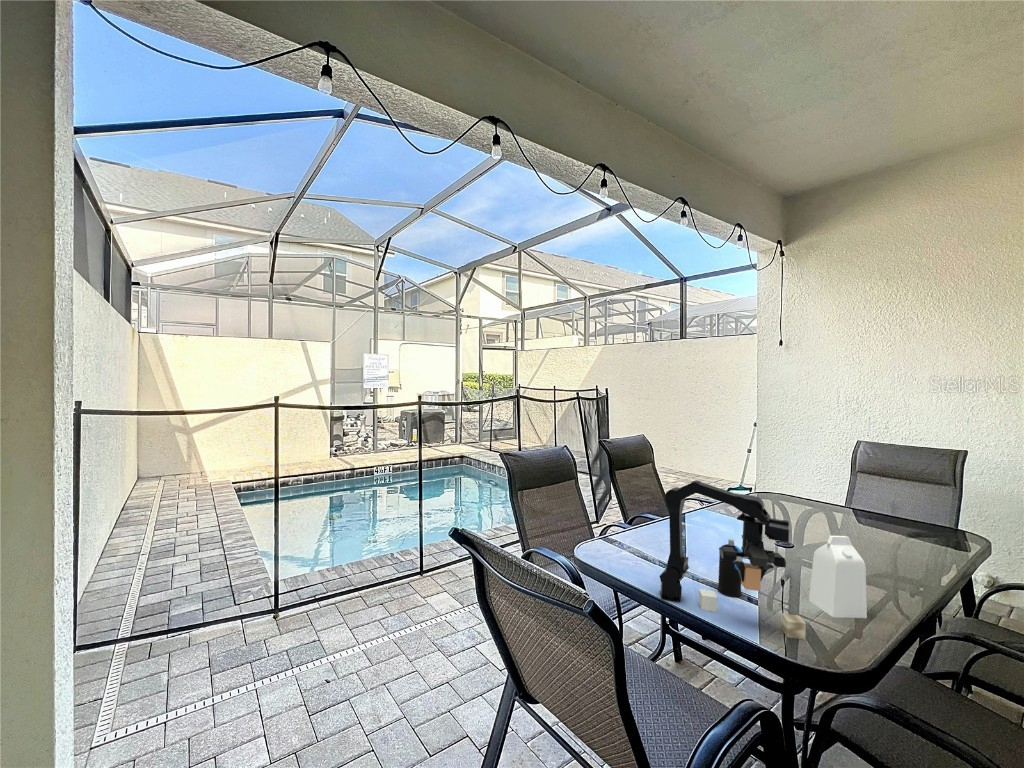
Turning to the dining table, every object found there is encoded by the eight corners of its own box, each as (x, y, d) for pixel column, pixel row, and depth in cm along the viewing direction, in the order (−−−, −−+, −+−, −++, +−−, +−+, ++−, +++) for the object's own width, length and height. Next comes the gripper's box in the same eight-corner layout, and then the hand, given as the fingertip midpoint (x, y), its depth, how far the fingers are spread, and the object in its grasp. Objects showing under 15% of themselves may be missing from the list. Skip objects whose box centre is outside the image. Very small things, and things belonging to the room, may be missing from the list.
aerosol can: (715, 593, 161) (717, 540, 161) (719, 585, 168) (721, 534, 168) (740, 599, 157) (742, 545, 157) (742, 591, 163) (744, 539, 164)
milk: (840, 601, 159) (842, 531, 159) (866, 618, 147) (869, 542, 148) (808, 600, 158) (811, 530, 159) (833, 617, 147) (835, 541, 147)
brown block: (745, 589, 140) (746, 567, 140) (740, 583, 144) (741, 562, 145) (760, 591, 139) (761, 569, 139) (755, 585, 144) (756, 564, 144)
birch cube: (787, 637, 133) (787, 621, 133) (780, 628, 138) (781, 613, 138) (805, 640, 132) (805, 623, 132) (798, 631, 137) (798, 615, 137)
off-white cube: (701, 609, 148) (702, 595, 148) (698, 603, 153) (698, 589, 153) (717, 612, 147) (717, 597, 147) (713, 605, 152) (713, 591, 152)
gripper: (729, 540, 136) (726, 589, 136) (794, 547, 132) (792, 598, 132) (719, 529, 147) (717, 574, 147) (779, 535, 143) (777, 582, 143)
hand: (750, 582), depth 142 cm, fingers closed on brown block, 4 cm apart
